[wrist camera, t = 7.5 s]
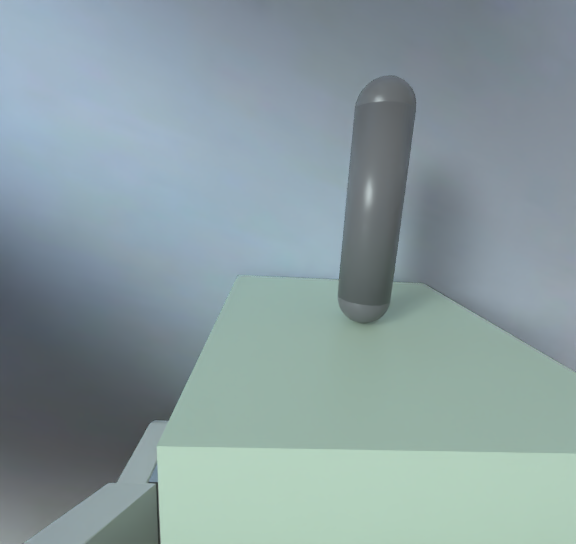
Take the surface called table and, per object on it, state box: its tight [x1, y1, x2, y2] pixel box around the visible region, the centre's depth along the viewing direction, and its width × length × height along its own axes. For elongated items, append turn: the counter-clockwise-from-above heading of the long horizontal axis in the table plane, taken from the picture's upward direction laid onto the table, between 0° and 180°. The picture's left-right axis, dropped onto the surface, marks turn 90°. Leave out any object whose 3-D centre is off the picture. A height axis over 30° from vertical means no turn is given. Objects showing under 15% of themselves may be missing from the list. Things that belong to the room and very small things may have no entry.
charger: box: [157, 76, 576, 544], centre depth 6 cm, size 5×13×6 cm, turn 177°
